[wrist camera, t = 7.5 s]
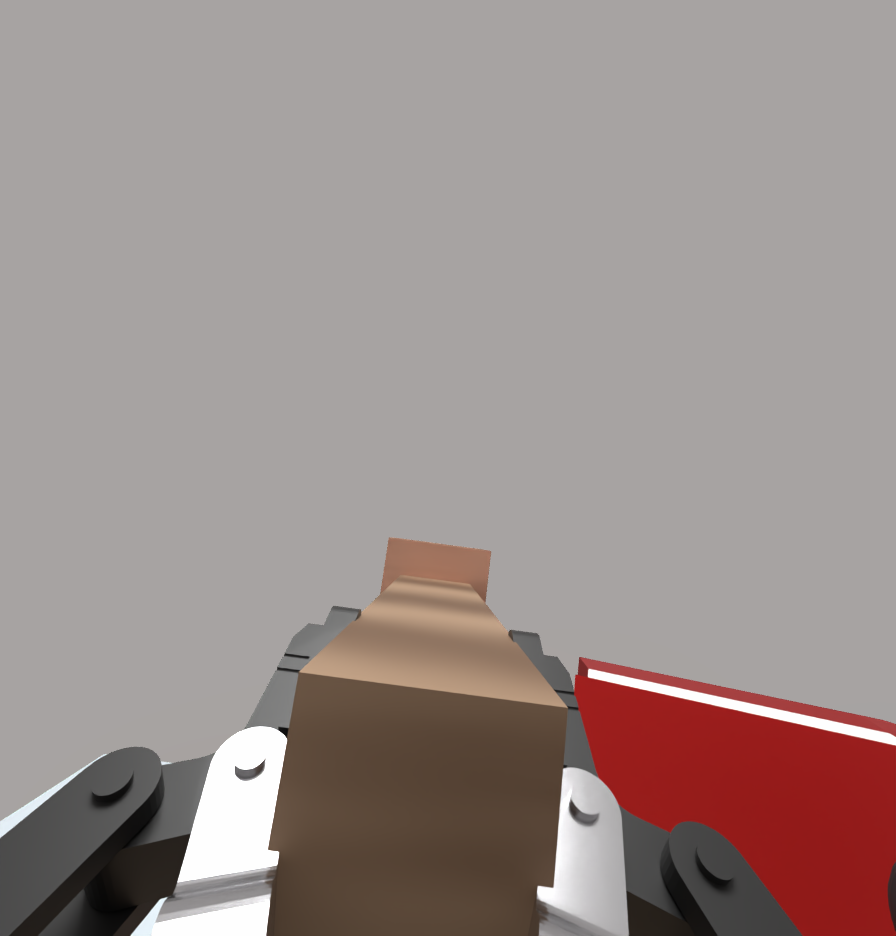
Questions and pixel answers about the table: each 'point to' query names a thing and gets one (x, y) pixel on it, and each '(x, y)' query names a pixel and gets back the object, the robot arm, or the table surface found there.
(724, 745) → the book
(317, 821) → the handled cube
